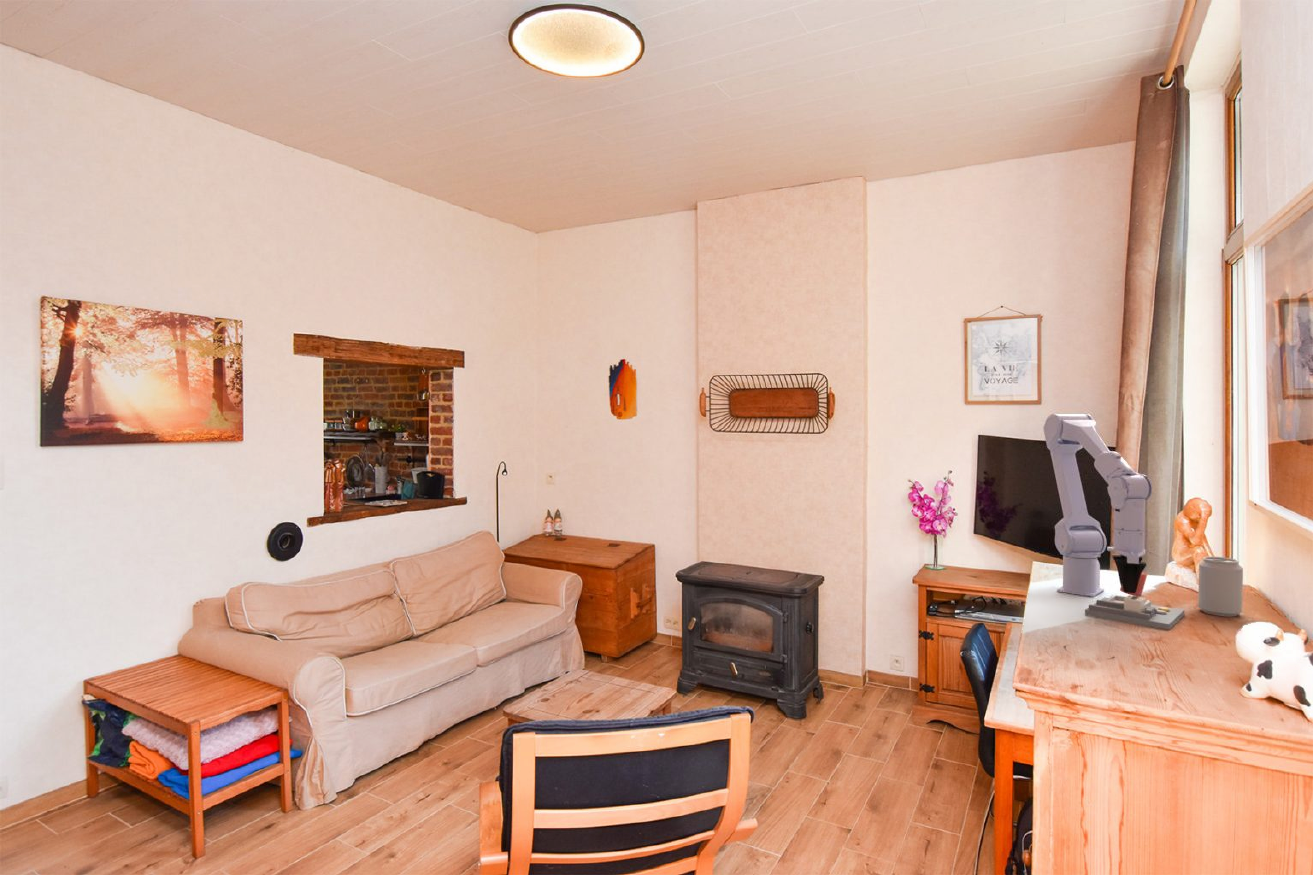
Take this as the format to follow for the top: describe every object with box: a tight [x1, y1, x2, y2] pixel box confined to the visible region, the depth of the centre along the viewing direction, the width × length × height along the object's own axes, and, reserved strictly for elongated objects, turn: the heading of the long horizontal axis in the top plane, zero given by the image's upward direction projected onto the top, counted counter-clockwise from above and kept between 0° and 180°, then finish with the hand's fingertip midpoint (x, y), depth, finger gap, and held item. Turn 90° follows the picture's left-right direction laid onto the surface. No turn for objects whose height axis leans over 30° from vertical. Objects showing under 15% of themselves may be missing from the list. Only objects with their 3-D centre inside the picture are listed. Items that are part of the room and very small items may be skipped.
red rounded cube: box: [1119, 571, 1148, 597], centre depth 155 cm, size 4×4×5 cm
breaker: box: [1124, 594, 1147, 613], centre depth 149 cm, size 4×3×3 cm
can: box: [1197, 556, 1244, 618], centre depth 154 cm, size 8×8×12 cm
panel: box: [1084, 594, 1185, 631], centre depth 152 cm, size 15×15×3 cm
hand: (1128, 590), depth 156 cm, fingers closed on red rounded cube, 4 cm apart
